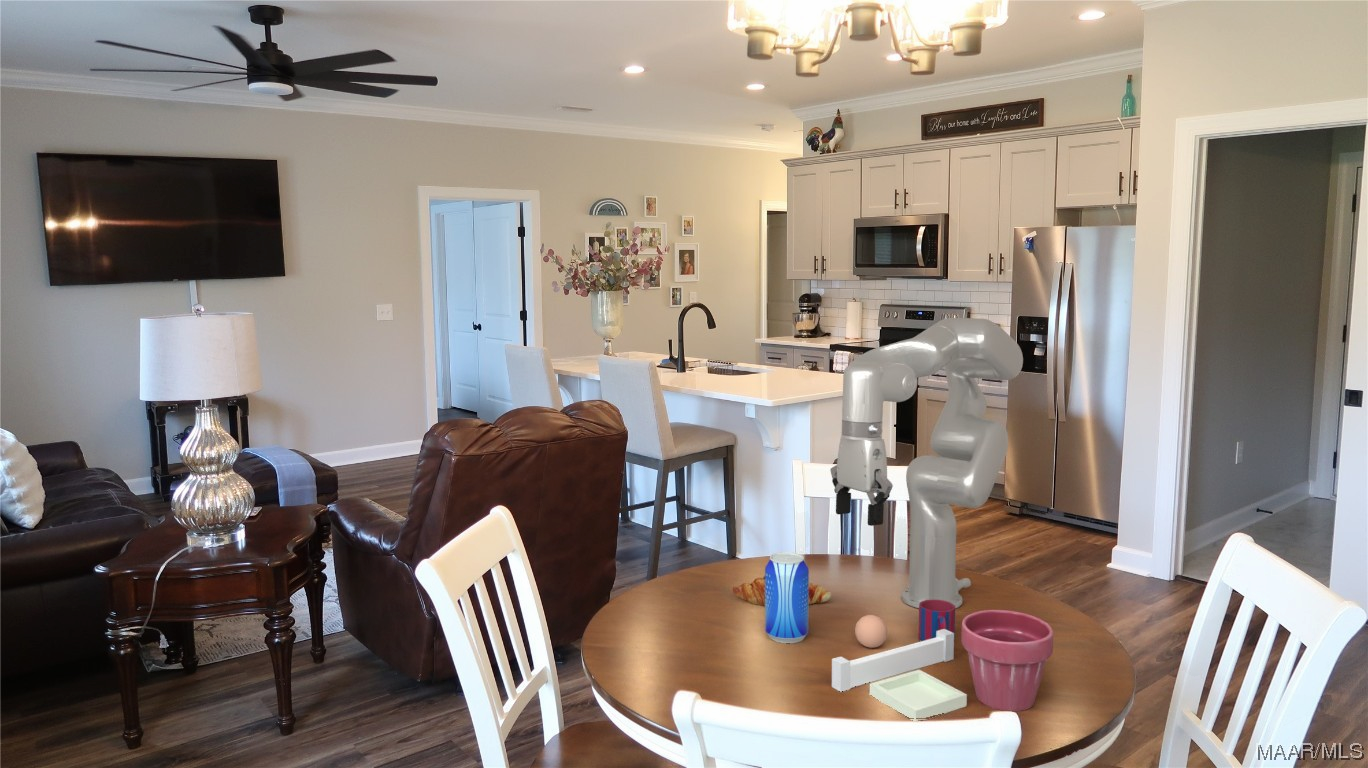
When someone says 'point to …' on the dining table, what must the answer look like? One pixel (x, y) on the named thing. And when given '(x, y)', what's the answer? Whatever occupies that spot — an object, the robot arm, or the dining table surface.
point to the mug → (935, 618)
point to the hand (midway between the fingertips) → (858, 519)
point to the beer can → (786, 597)
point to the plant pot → (1006, 656)
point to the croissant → (757, 592)
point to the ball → (871, 631)
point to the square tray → (918, 695)
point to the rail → (892, 661)
